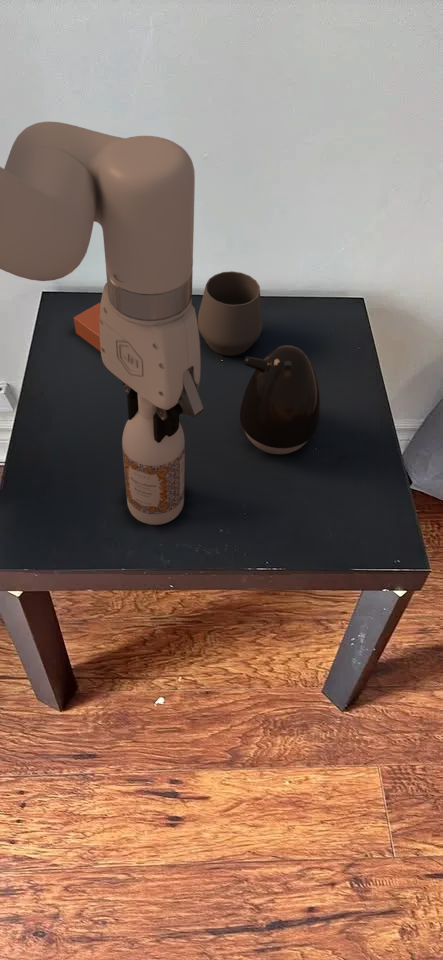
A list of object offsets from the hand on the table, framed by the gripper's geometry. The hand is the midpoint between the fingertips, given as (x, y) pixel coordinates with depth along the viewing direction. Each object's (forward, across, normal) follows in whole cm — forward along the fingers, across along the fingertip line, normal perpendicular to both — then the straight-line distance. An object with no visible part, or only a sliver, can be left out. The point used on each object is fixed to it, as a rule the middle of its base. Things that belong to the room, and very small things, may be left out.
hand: (153, 423), depth 81 cm
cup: (+15, -14, +28) cm, 35 cm away
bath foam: (+15, 0, 0) cm, 15 cm away
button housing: (+15, -26, +18) cm, 35 cm away
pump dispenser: (+15, +3, +19) cm, 24 cm away
